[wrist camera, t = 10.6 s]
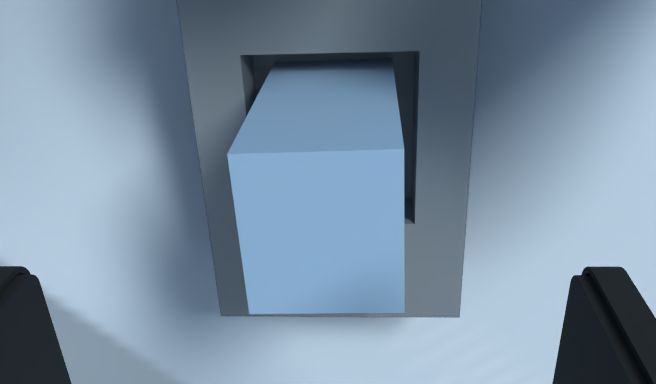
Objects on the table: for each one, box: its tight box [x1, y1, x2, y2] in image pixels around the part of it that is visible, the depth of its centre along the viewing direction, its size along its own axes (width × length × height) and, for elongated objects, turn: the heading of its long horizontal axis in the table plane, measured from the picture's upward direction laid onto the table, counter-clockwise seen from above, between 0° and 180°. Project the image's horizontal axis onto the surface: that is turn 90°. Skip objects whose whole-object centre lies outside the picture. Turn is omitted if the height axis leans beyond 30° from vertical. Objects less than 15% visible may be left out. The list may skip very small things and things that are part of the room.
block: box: [227, 58, 405, 314], centre depth 19 cm, size 4×4×8 cm
